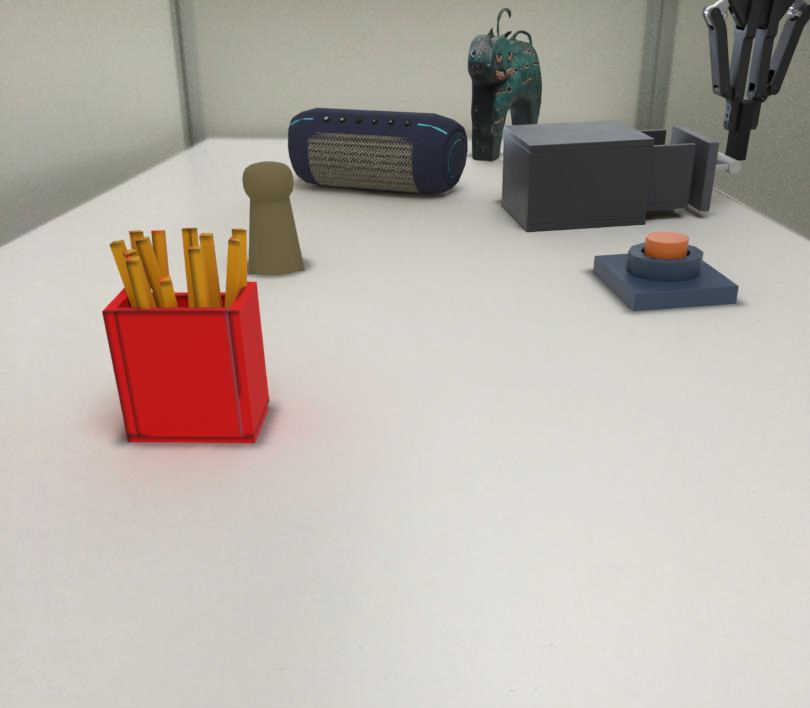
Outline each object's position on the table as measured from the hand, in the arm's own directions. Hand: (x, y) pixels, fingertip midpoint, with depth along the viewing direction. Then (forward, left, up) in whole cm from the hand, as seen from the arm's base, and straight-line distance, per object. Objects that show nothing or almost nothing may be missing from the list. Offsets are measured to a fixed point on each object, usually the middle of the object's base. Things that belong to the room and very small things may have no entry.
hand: (735, 158), depth 119 cm
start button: (+21, +30, -2) cm, 37 cm away
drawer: (+10, 0, -5) cm, 11 cm away
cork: (+58, +15, -6) cm, 60 cm away
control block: (+21, +30, -6) cm, 37 cm away
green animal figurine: (+20, -40, -6) cm, 45 cm away
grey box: (+21, 0, -6) cm, 21 cm away
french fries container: (+65, +52, -6) cm, 83 cm away
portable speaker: (+43, -19, -6) cm, 47 cm away
